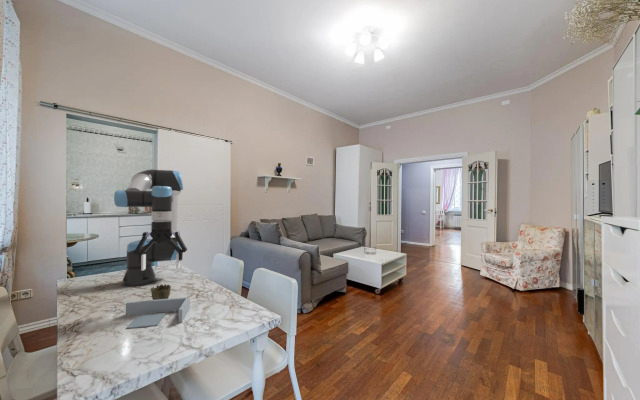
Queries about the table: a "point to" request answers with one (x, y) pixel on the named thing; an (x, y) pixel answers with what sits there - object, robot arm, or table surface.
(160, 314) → the mat
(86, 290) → the table surface
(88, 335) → the table surface
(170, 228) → the robot arm
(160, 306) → the fence
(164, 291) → the cup
